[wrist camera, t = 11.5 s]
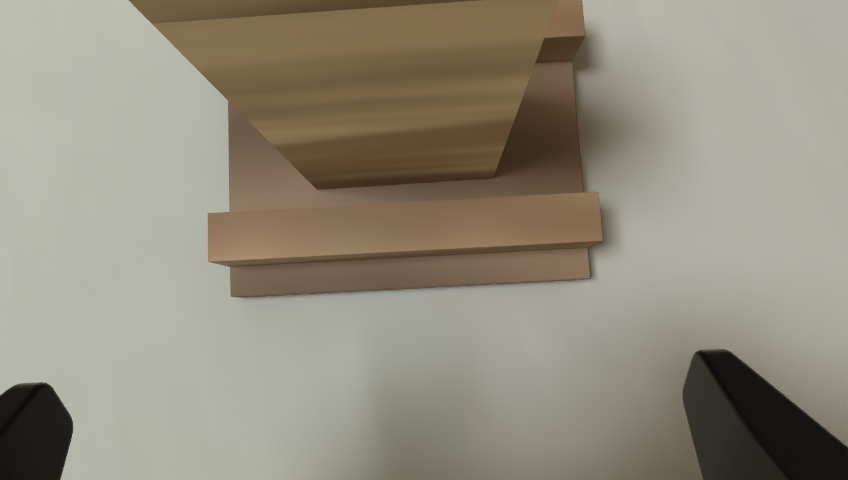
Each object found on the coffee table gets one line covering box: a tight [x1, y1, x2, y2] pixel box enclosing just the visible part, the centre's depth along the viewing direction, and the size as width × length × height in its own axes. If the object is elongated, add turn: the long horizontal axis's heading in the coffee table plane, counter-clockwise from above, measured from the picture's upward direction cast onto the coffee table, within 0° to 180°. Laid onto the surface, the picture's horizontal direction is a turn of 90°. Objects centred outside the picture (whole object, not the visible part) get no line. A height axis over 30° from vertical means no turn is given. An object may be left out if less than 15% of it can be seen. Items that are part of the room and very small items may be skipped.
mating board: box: [208, 0, 603, 297], centre depth 21 cm, size 10×12×3 cm
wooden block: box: [129, 0, 558, 190], centre depth 15 cm, size 3×6×13 cm, turn 93°
